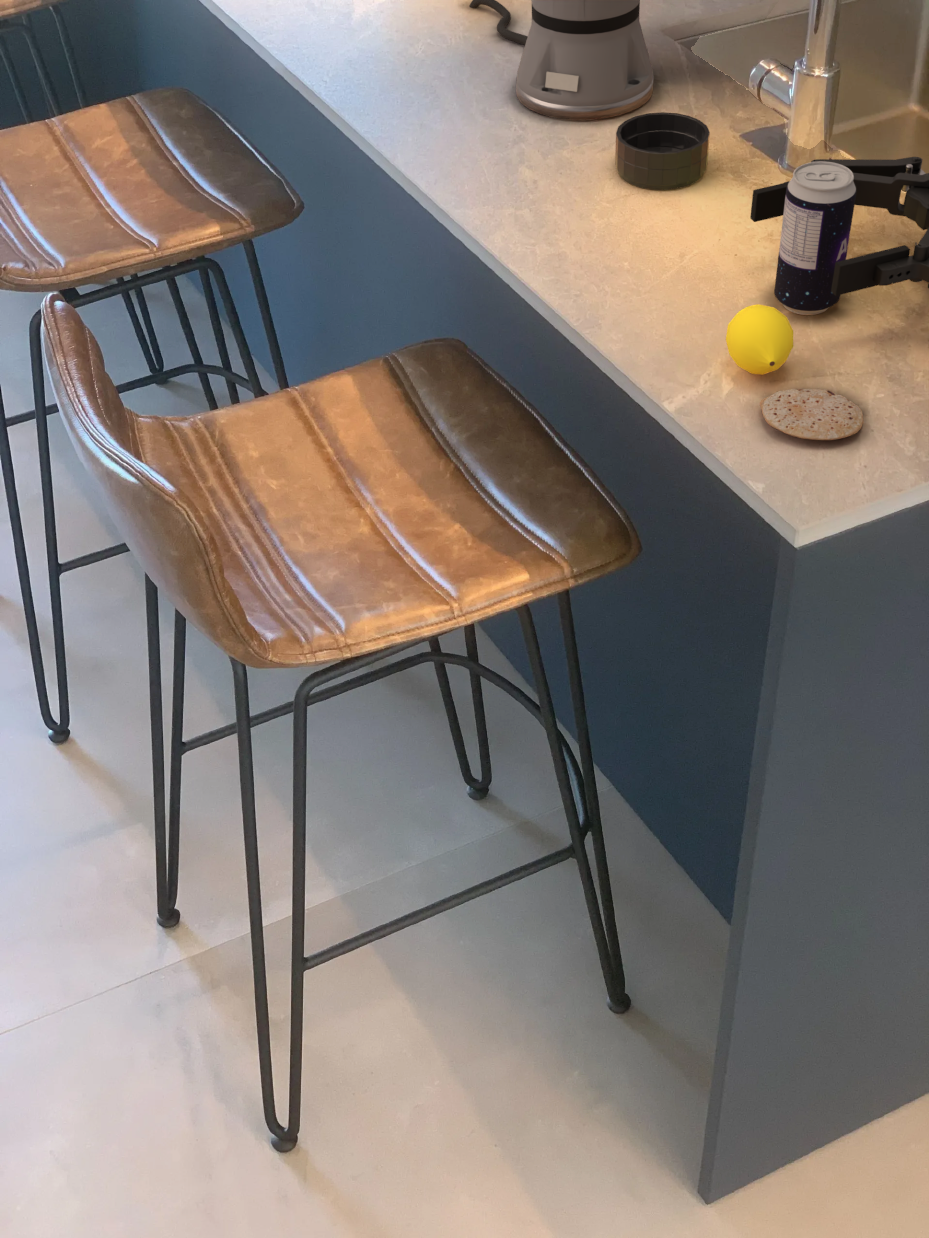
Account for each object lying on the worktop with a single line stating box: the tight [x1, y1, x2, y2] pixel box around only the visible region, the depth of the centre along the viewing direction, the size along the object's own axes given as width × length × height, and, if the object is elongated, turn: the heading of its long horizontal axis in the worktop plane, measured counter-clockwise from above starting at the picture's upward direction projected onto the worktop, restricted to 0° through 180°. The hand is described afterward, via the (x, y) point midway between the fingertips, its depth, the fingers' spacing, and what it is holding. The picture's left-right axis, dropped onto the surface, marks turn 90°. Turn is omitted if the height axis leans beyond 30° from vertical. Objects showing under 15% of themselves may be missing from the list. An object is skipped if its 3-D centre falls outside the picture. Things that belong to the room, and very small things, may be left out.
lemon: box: [725, 303, 794, 375], centre depth 115 cm, size 7×5×5 cm
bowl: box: [614, 111, 711, 191], centre depth 142 cm, size 9×9×4 cm
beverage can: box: [773, 161, 857, 316], centre depth 119 cm, size 6×6×12 cm
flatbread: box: [759, 388, 864, 441], centre depth 111 cm, size 8×8×1 cm
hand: (792, 241), depth 119 cm, fingers open, 13 cm apart
